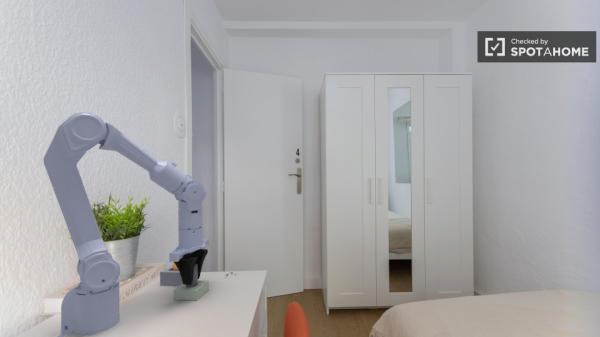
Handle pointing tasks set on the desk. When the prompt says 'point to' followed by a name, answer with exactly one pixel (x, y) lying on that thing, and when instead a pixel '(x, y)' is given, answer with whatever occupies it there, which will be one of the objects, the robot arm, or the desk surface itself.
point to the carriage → (192, 288)
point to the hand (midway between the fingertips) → (191, 281)
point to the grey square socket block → (170, 277)
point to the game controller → (228, 274)
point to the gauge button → (175, 267)
